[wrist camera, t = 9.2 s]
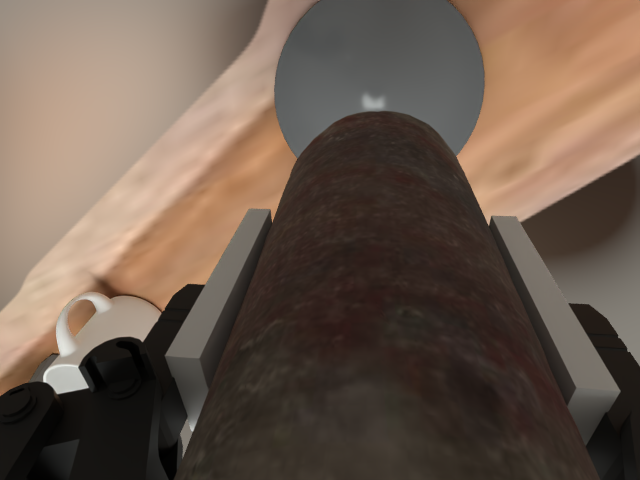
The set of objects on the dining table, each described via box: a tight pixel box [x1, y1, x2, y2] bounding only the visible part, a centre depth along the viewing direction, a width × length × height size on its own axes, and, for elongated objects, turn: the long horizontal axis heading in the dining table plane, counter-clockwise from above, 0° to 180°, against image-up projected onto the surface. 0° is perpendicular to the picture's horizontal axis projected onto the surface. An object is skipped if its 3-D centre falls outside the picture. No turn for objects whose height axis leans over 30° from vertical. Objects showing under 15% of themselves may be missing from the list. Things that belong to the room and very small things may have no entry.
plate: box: [274, 0, 484, 158], centre depth 31 cm, size 16×16×1 cm
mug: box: [43, 292, 162, 394], centre depth 44 cm, size 9×12×11 cm
